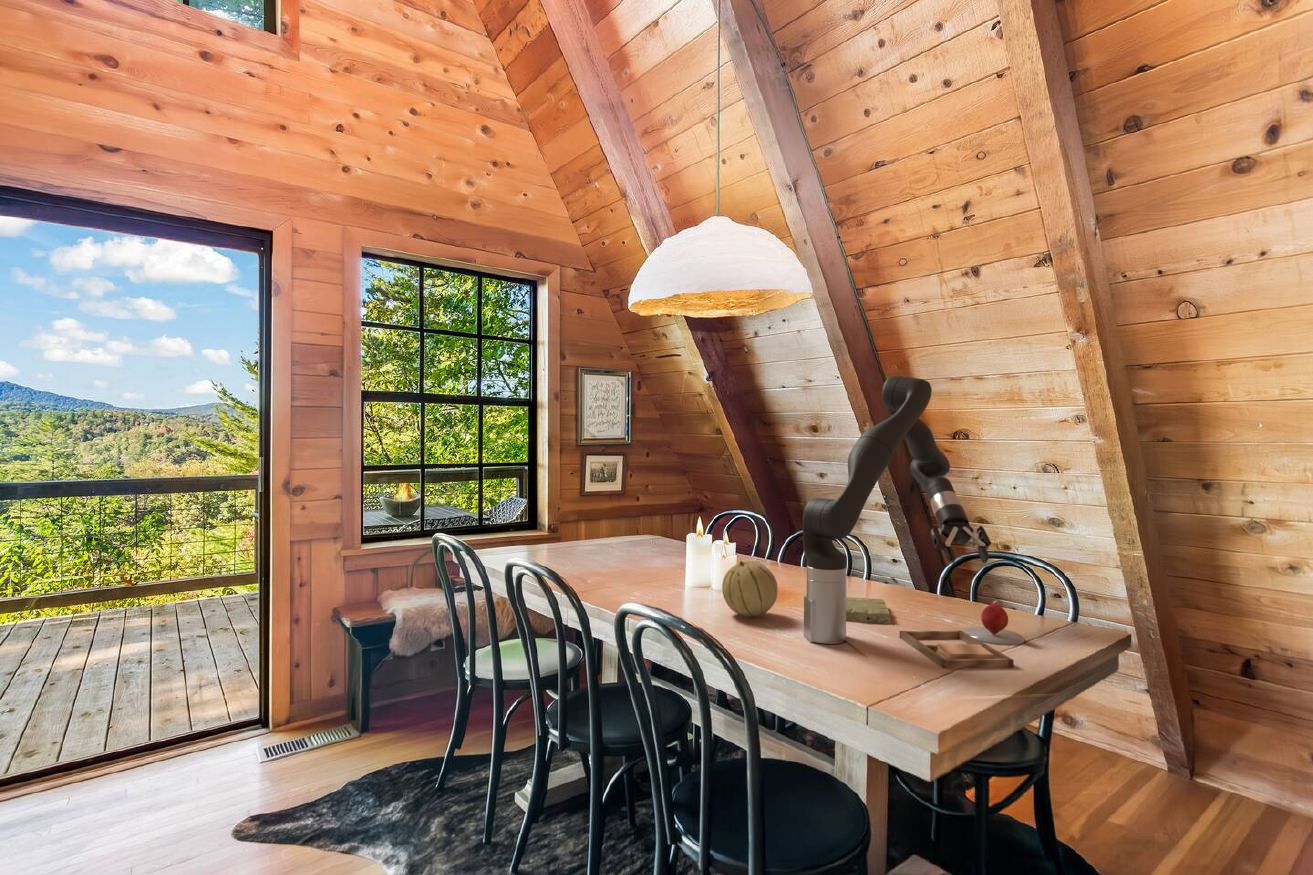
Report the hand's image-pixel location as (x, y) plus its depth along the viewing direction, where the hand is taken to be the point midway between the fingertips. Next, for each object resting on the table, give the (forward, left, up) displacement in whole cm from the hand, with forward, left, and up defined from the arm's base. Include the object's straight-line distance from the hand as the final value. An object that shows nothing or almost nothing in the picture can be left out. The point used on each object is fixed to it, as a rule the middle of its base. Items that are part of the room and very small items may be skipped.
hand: (969, 561), depth 179 cm
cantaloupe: (-55, +12, -17) cm, 58 cm away
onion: (0, -11, -16) cm, 19 cm away
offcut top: (-16, -28, -15) cm, 36 cm away
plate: (0, -11, -17) cm, 20 cm away
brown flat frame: (-16, -22, -17) cm, 32 cm away
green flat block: (-27, +14, -17) cm, 34 cm away
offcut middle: (-16, -28, -16) cm, 36 cm away
